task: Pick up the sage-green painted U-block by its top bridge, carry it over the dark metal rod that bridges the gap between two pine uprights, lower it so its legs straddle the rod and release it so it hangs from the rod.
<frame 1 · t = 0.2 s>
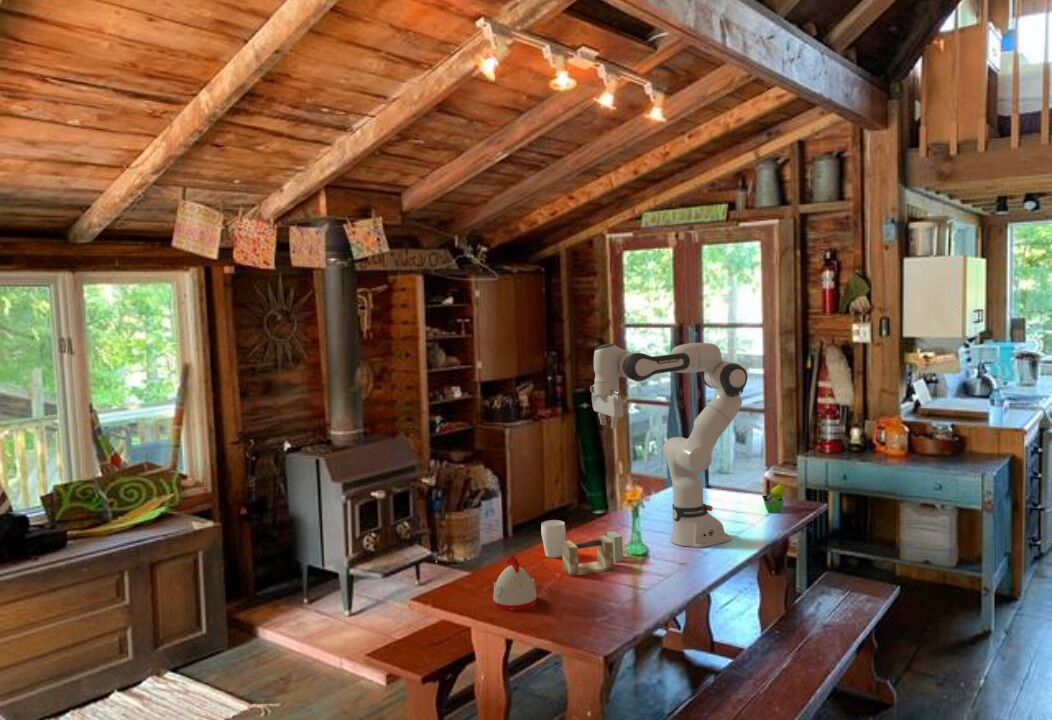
hand: (608, 426, 312), 47 cm above the table, fingers open, 8 cm apart
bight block: (615, 558, 309), on the table
wooden frame with rod: (588, 569, 299), on the table
cup: (554, 555, 316), on the table
kitchen timer: (515, 602, 272), on the table
fruit basket: (774, 510, 360), on the table
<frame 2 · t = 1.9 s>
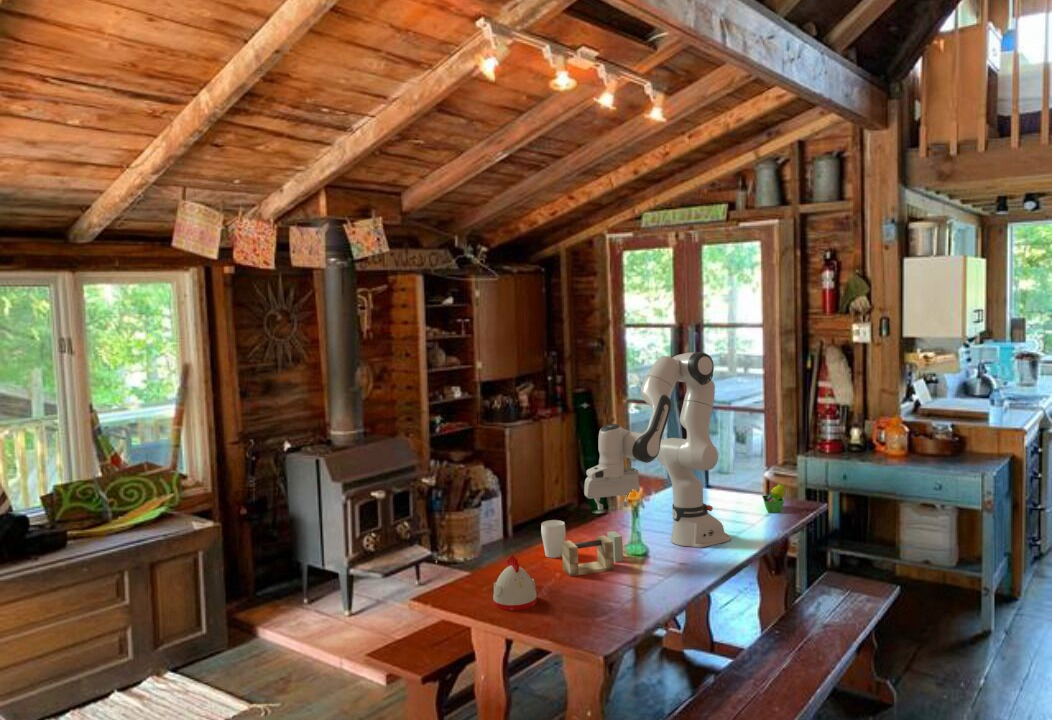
hand: (612, 508, 307), 19 cm above the table, fingers open, 8 cm apart
nothing on the table moved.
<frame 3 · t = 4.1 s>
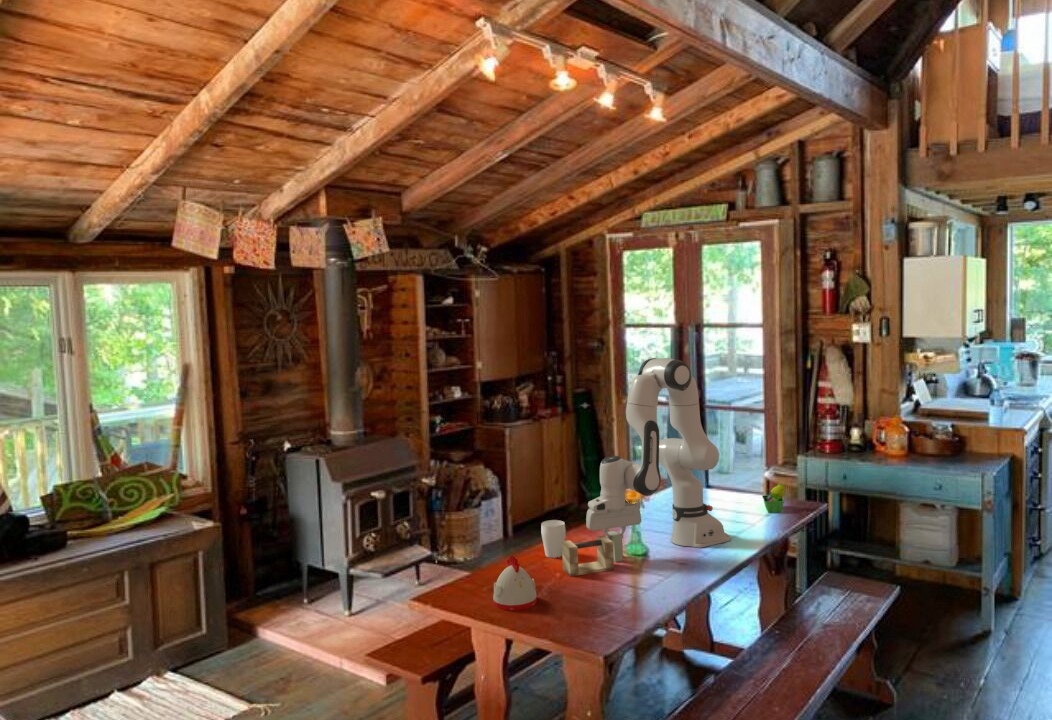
hand: (614, 539, 308), 7 cm above the table, fingers closed on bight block, 3 cm apart
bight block: (615, 558, 309), on the table, touching gripper
everything else where it was.
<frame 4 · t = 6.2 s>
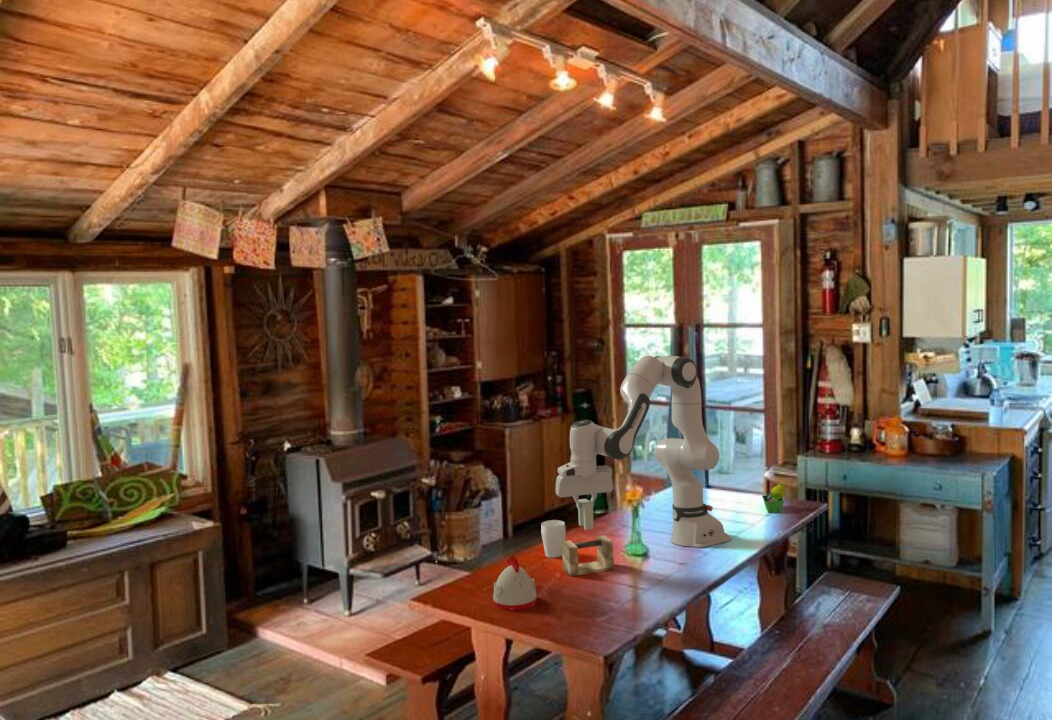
hand: (585, 506, 297), 22 cm above the table, fingers closed on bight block, 3 cm apart
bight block: (586, 526, 297), point 15 cm above the table, touching gripper
everything else where it was.
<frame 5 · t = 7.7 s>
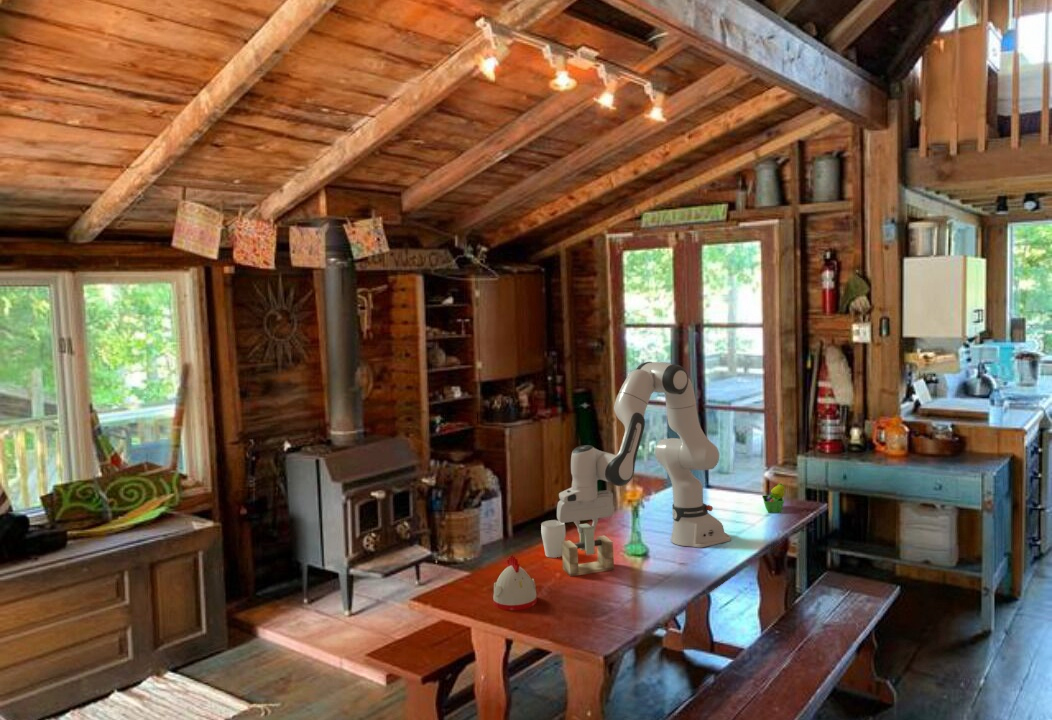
hand: (586, 531, 297), 13 cm above the table, fingers closed on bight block, 3 cm apart
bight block: (587, 551, 298), point 6 cm above the table, touching gripper
everything else where it was.
when the fingers open (12 cm above the table, at t = 8.8 s): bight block drops 1 cm, resting on wooden frame with rod.
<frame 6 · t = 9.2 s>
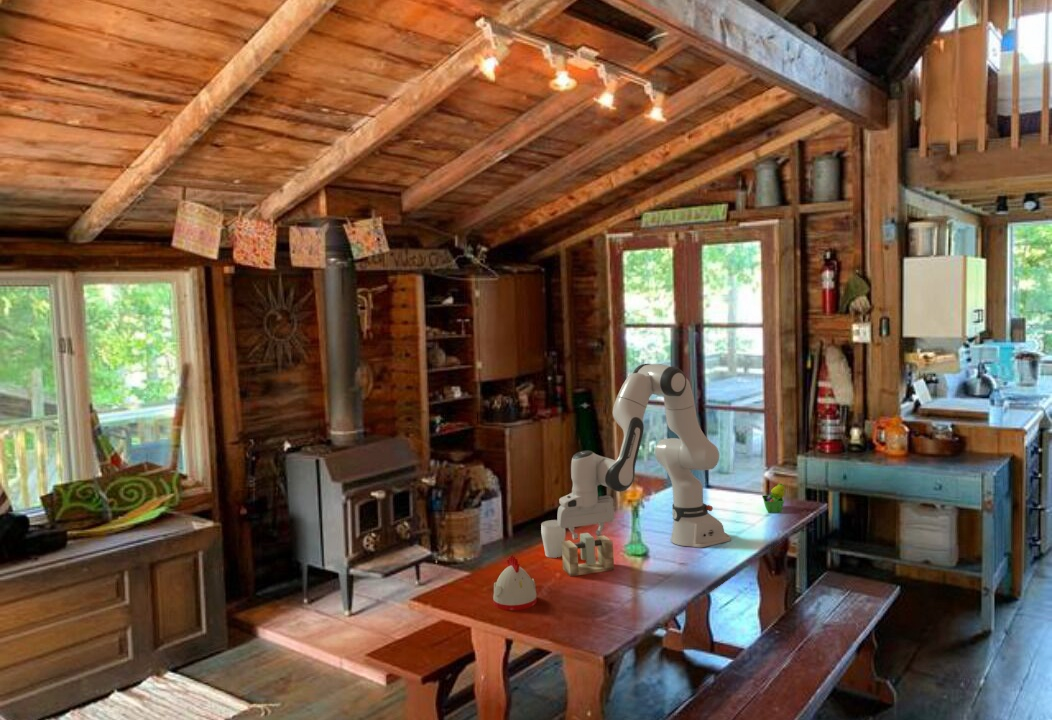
hand: (586, 537, 298), 12 cm above the table, fingers open, 7 cm apart
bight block: (588, 561, 298), point 3 cm above the table, touching wooden frame with rod
everything else where it was.
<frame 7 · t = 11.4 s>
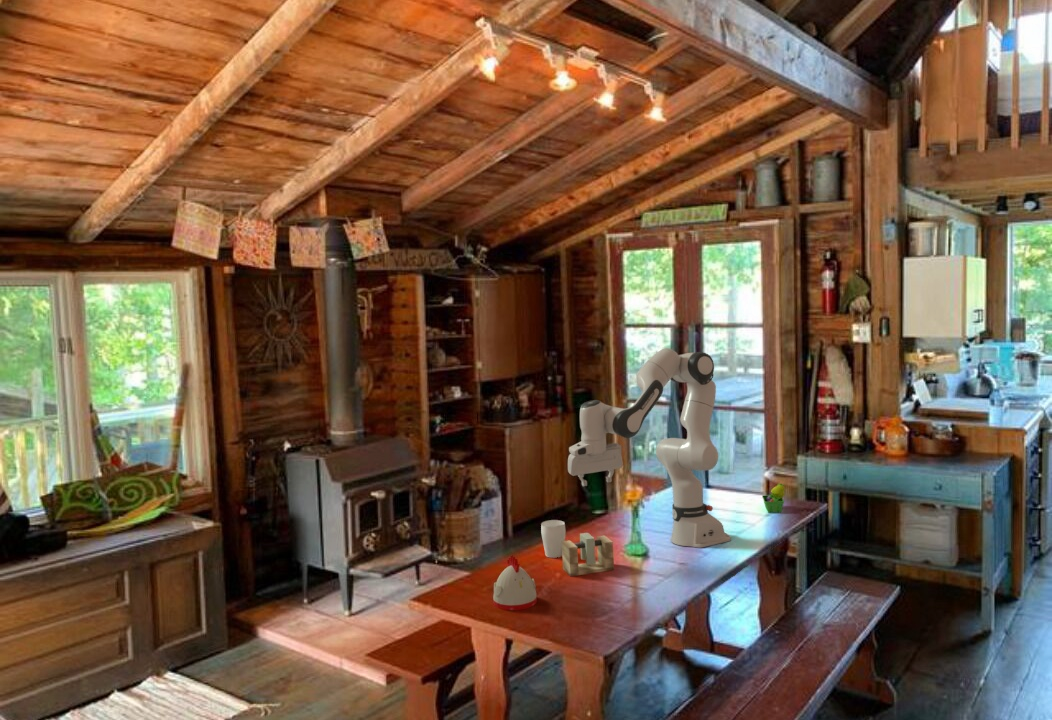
hand: (596, 483, 307), 28 cm above the table, fingers open, 8 cm apart
nothing on the table moved.
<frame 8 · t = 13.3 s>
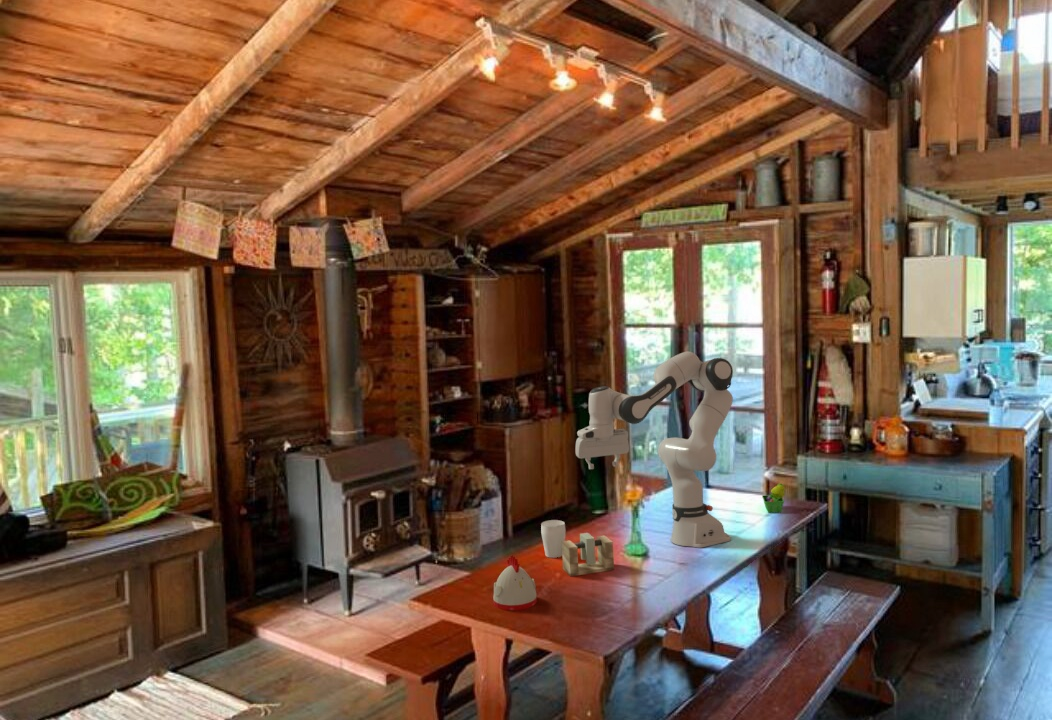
hand: (603, 467, 317), 31 cm above the table, fingers open, 8 cm apart
nothing on the table moved.
at the end: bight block 0.1 cm off-centre on the wooden frame with rod, point 3.0 cm above the wooden frame with rod's base; the gripper is holding nothing; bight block touching wooden frame with rod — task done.
